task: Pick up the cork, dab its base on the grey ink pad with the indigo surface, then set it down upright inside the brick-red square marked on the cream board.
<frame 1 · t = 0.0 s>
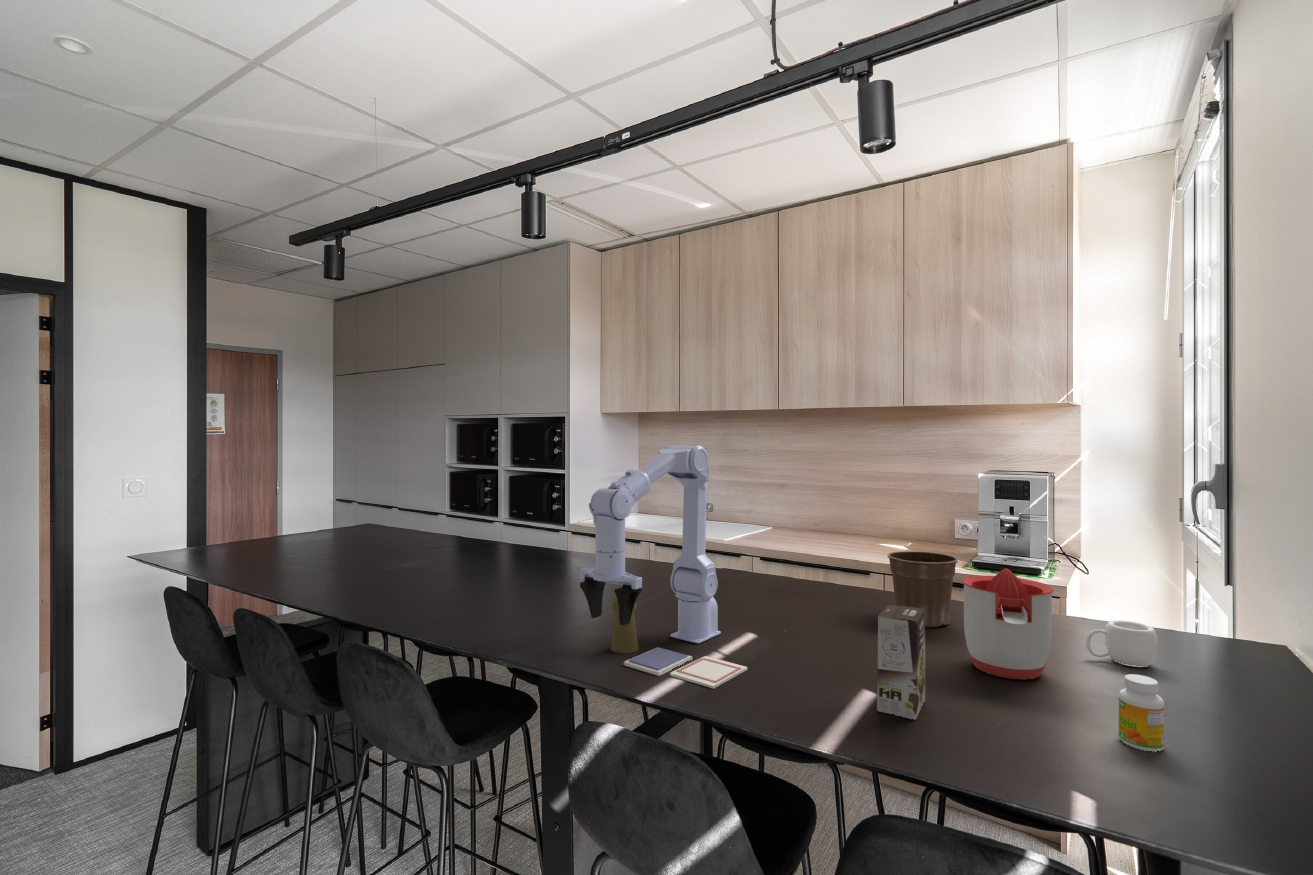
hand: (610, 620, 121), 10 cm above the table, tool pointing down, fingers open, 7 cm apart
citrus juicer: (1007, 672, 122), on the table
marked board: (709, 672, 121), on the table
supplement bottle: (1140, 745, 93), on the table
ink pad: (658, 662, 127), on the table
plant pot: (921, 621, 156), on the table
coffee box: (901, 707, 106), on the table
mug: (1120, 663, 127), on the table
cork: (624, 649, 135), on the table
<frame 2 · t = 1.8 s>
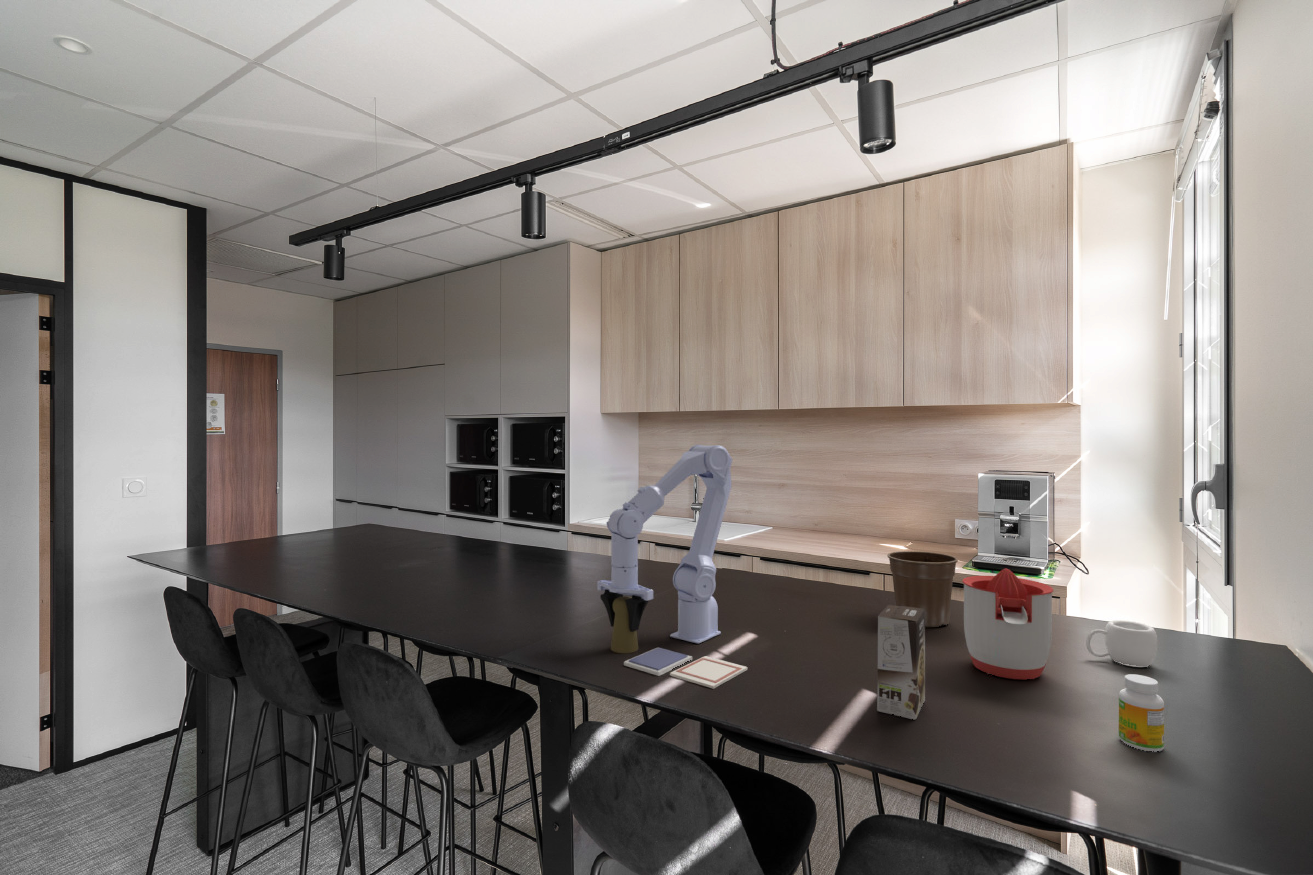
hand: (624, 627, 135), 4 cm above the table, tool pointing down, fingers closed on cork, 5 cm apart
cork: (624, 649, 135), on the table, touching gripper
everything else where it was.
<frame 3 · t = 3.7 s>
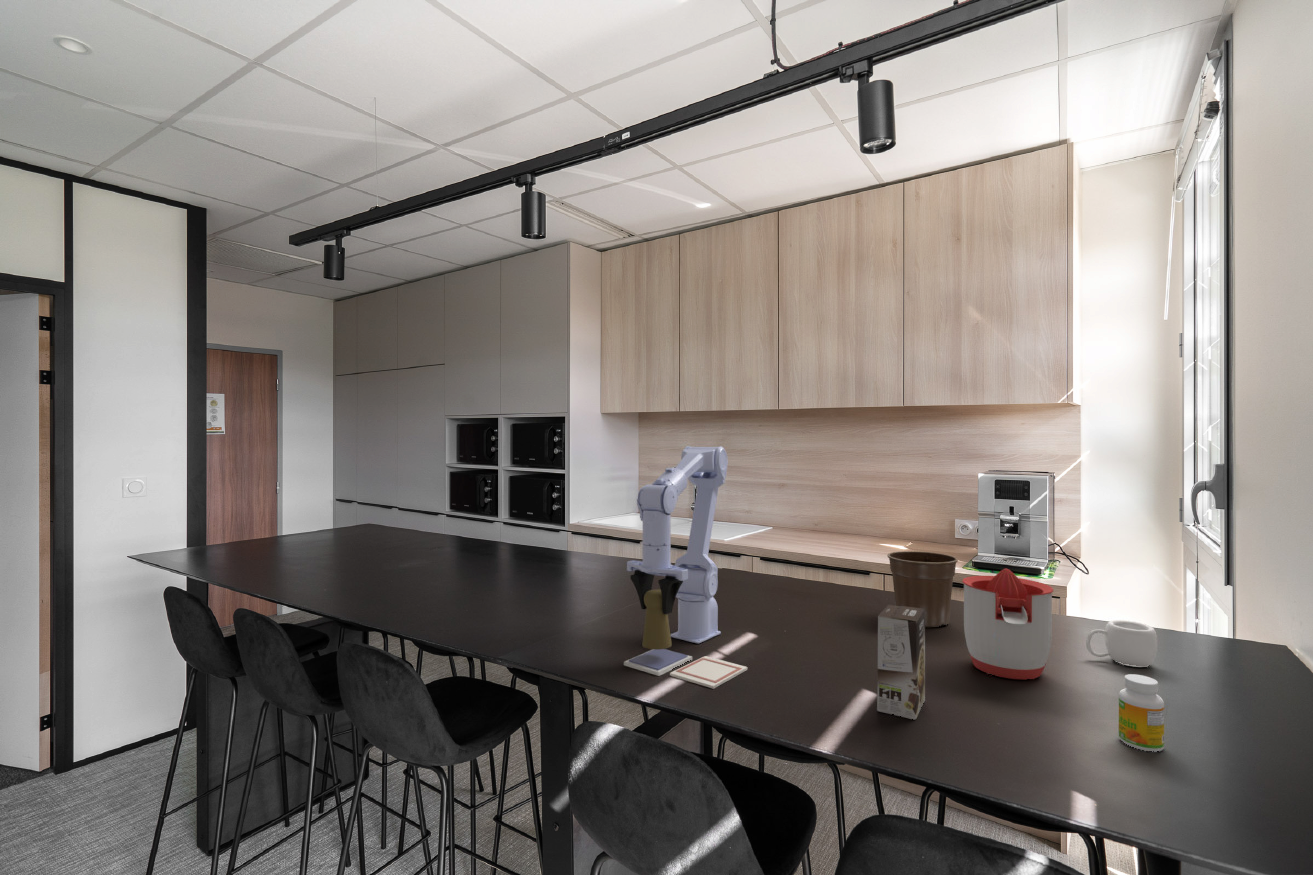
hand: (656, 610, 127), 10 cm above the table, tool pointing down, fingers closed on cork, 5 cm apart
cork: (656, 645, 127), point 3 cm above the table, touching gripper
everything else where it was.
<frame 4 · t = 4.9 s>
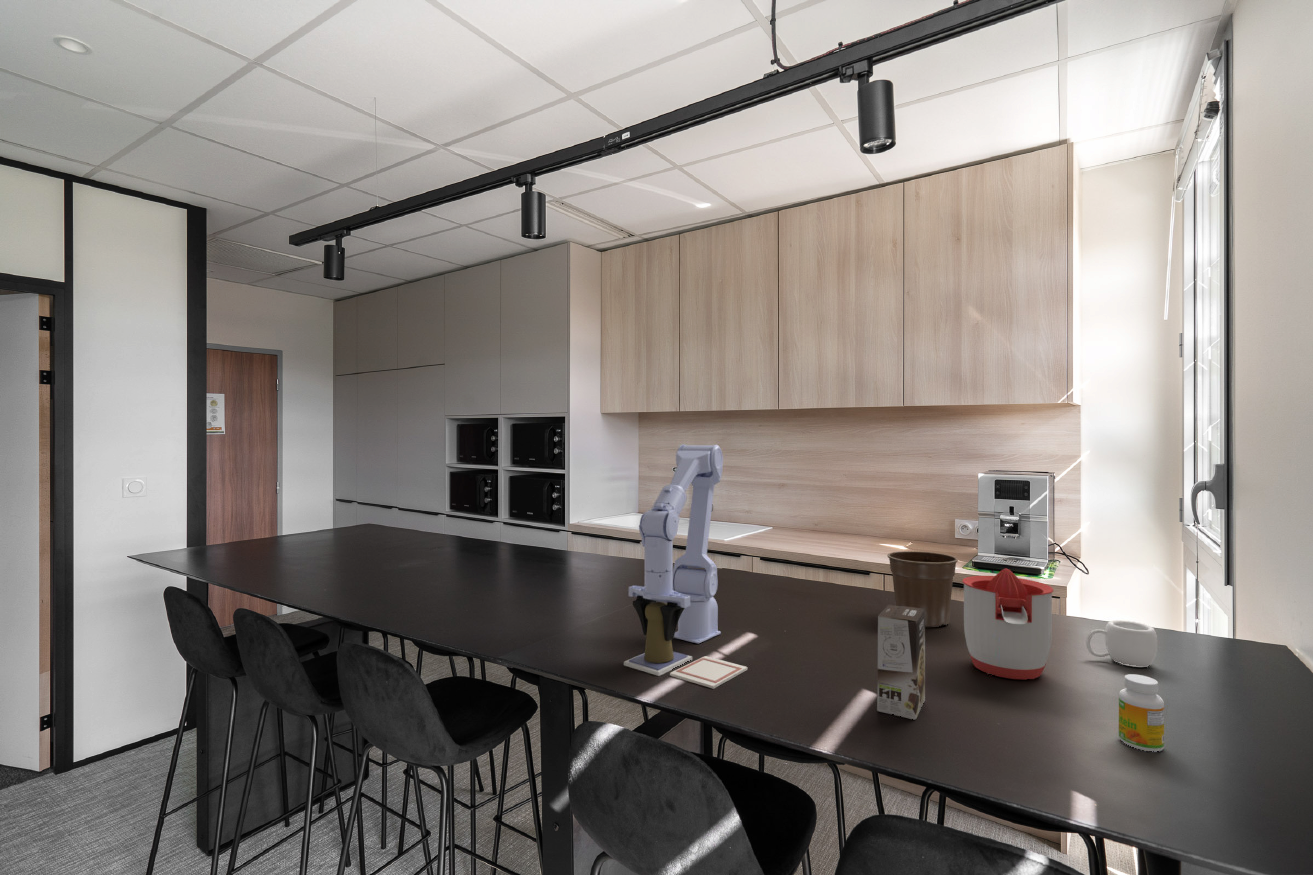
hand: (658, 636, 127), 5 cm above the table, tool pointing down, fingers closed on cork, 5 cm apart
cork: (659, 658, 126), point 1 cm above the table, touching gripper, ink pad
everything else where it was.
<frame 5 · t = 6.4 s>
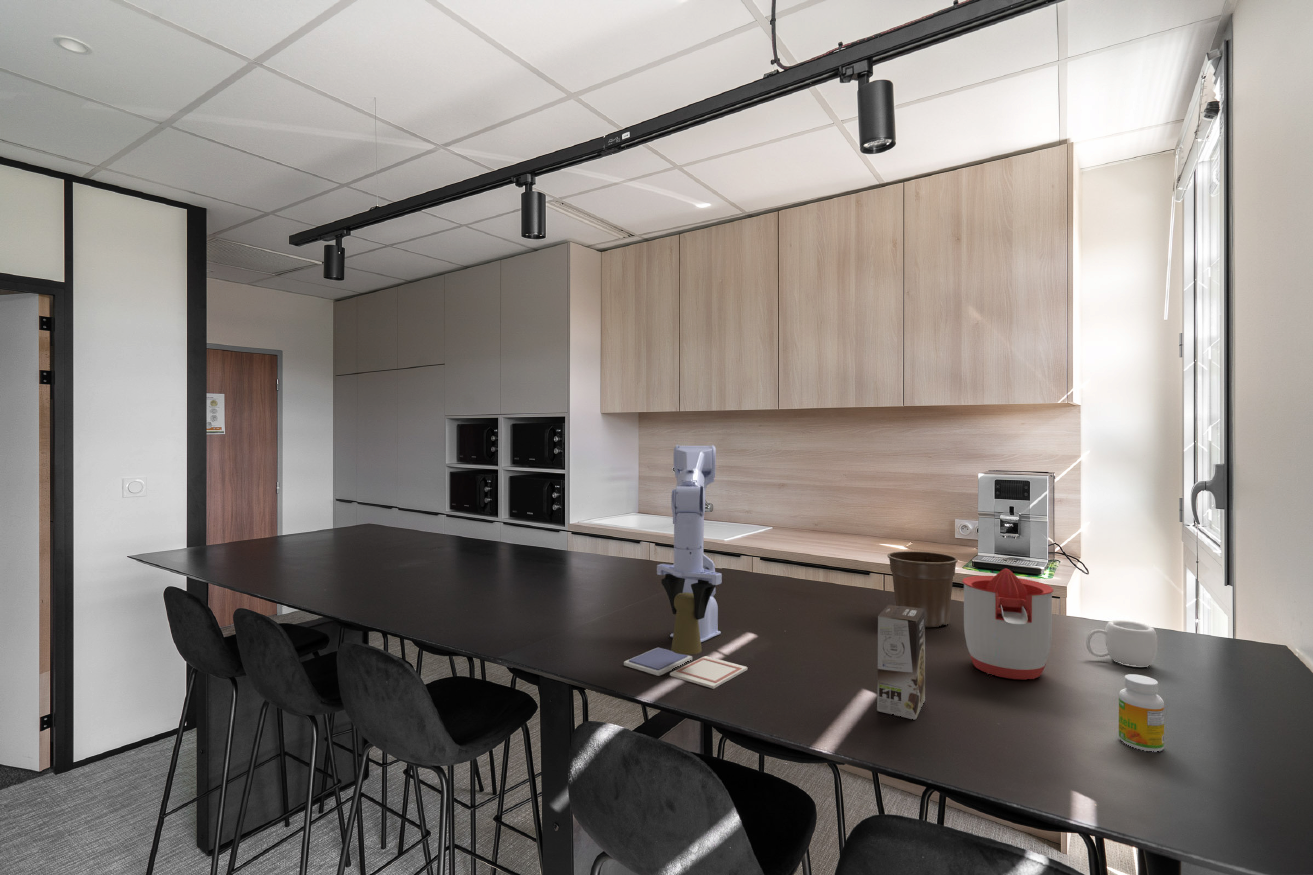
hand: (688, 615, 123), 10 cm above the table, tool pointing down, fingers closed on cork, 5 cm apart
cork: (686, 650, 123), point 4 cm above the table, touching gripper
everything else where it was.
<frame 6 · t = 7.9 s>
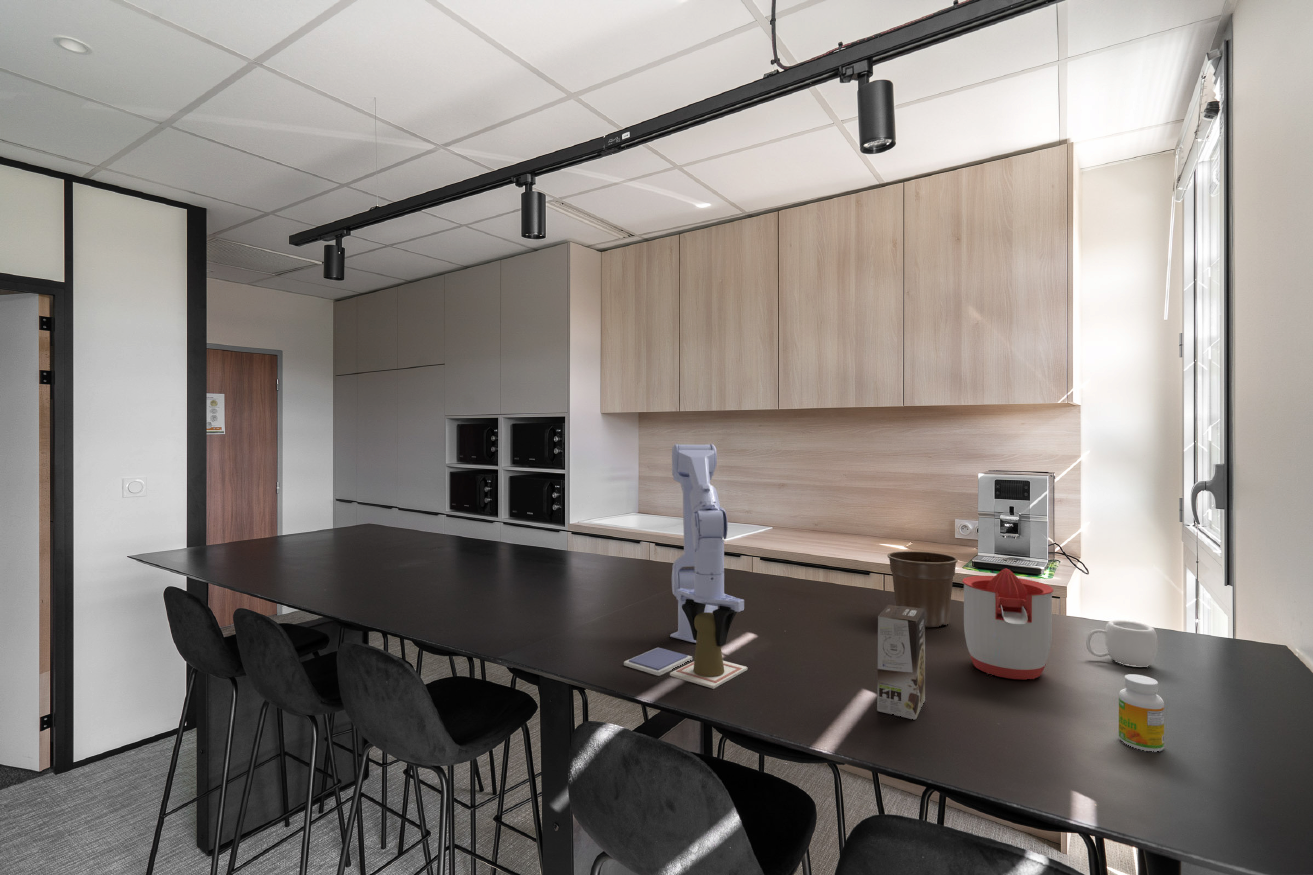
hand: (709, 641, 121), 6 cm above the table, tool pointing down, fingers closed on cork, 5 cm apart
cork: (708, 671, 121), resting on marked board, touching gripper
everything else where it was.
when the fingers open (6 cm above the table, at t = 8.3 s): cork stays where it is, resting on marked board.
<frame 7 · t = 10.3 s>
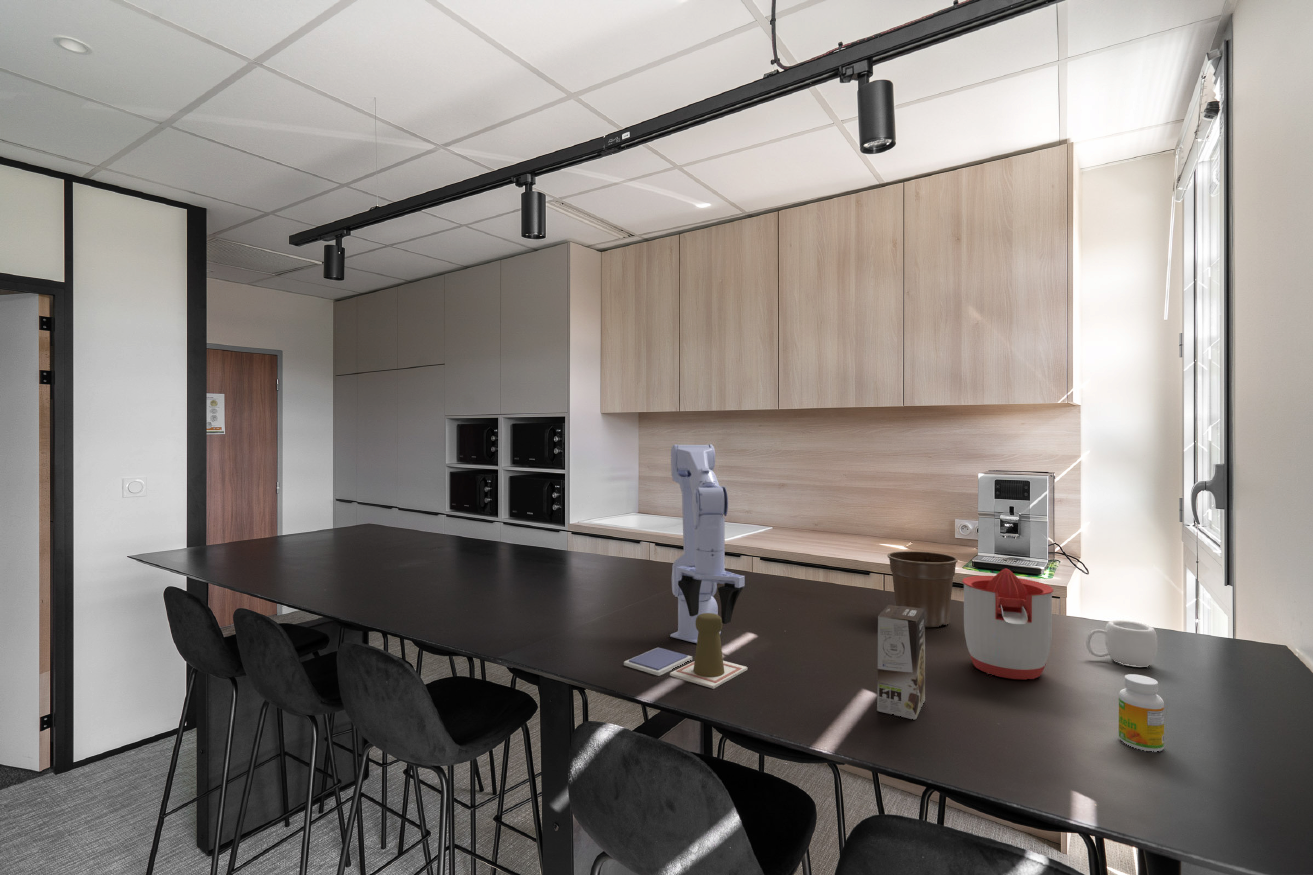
hand: (709, 618, 122), 10 cm above the table, tool pointing down, fingers open, 7 cm apart
cork: (708, 672, 121), resting on marked board
everything else where it was.
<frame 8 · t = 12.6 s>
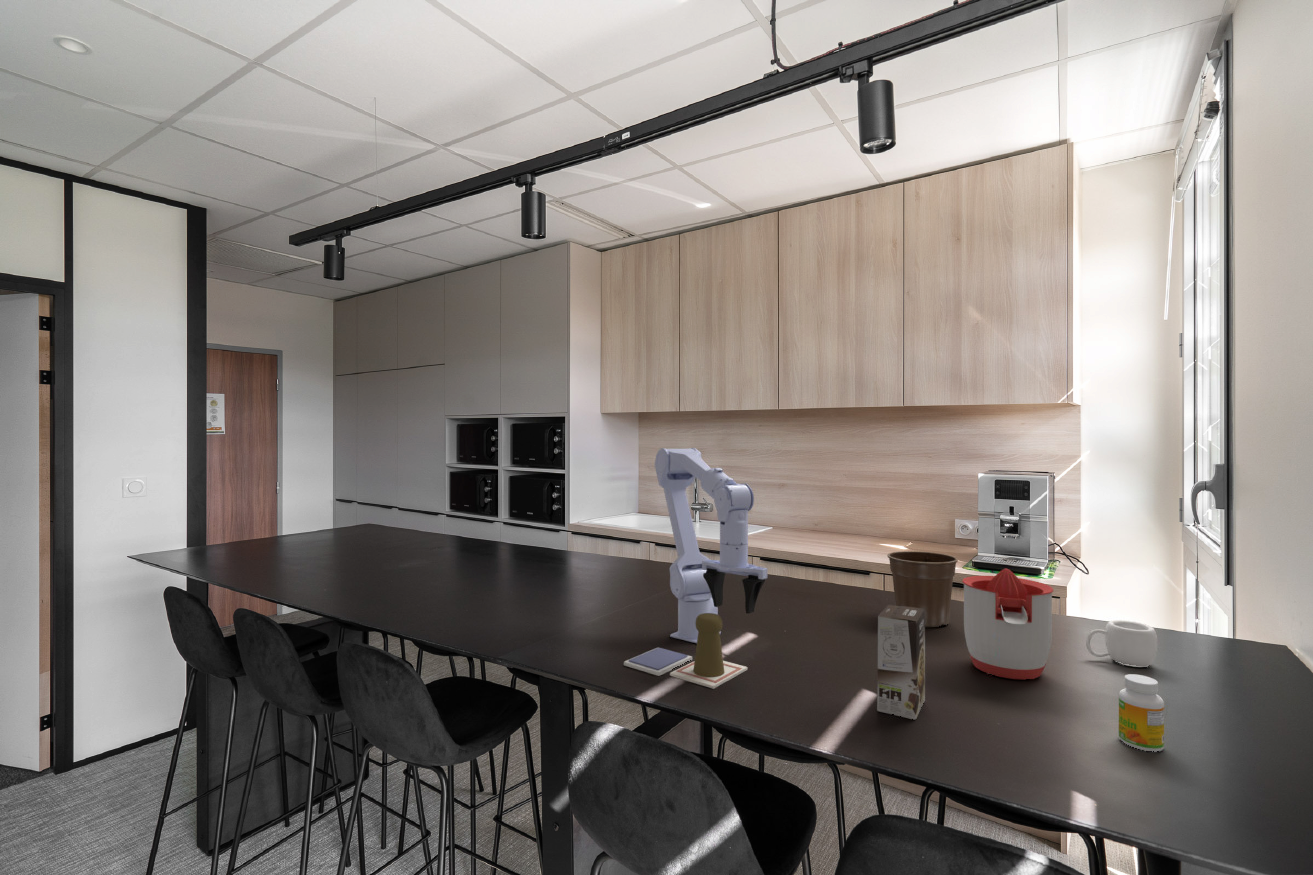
hand: (733, 609, 128), 10 cm above the table, tool pointing down, fingers open, 7 cm apart
nothing on the table moved.
at the end: cork 0.7 cm off-centre on the marked board, point 0.3 cm above the marked board's base; cork tilted 0°; the gripper is holding nothing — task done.
